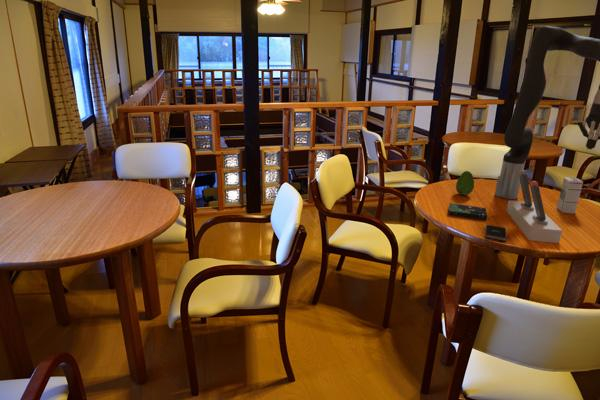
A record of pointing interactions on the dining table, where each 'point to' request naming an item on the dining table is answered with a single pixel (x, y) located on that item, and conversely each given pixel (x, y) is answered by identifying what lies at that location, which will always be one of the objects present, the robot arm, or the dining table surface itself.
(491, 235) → the external hard drive
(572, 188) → the syrup box
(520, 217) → the box
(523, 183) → the inner lever
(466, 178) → the avocado
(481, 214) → the disk drive
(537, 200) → the outer lever
